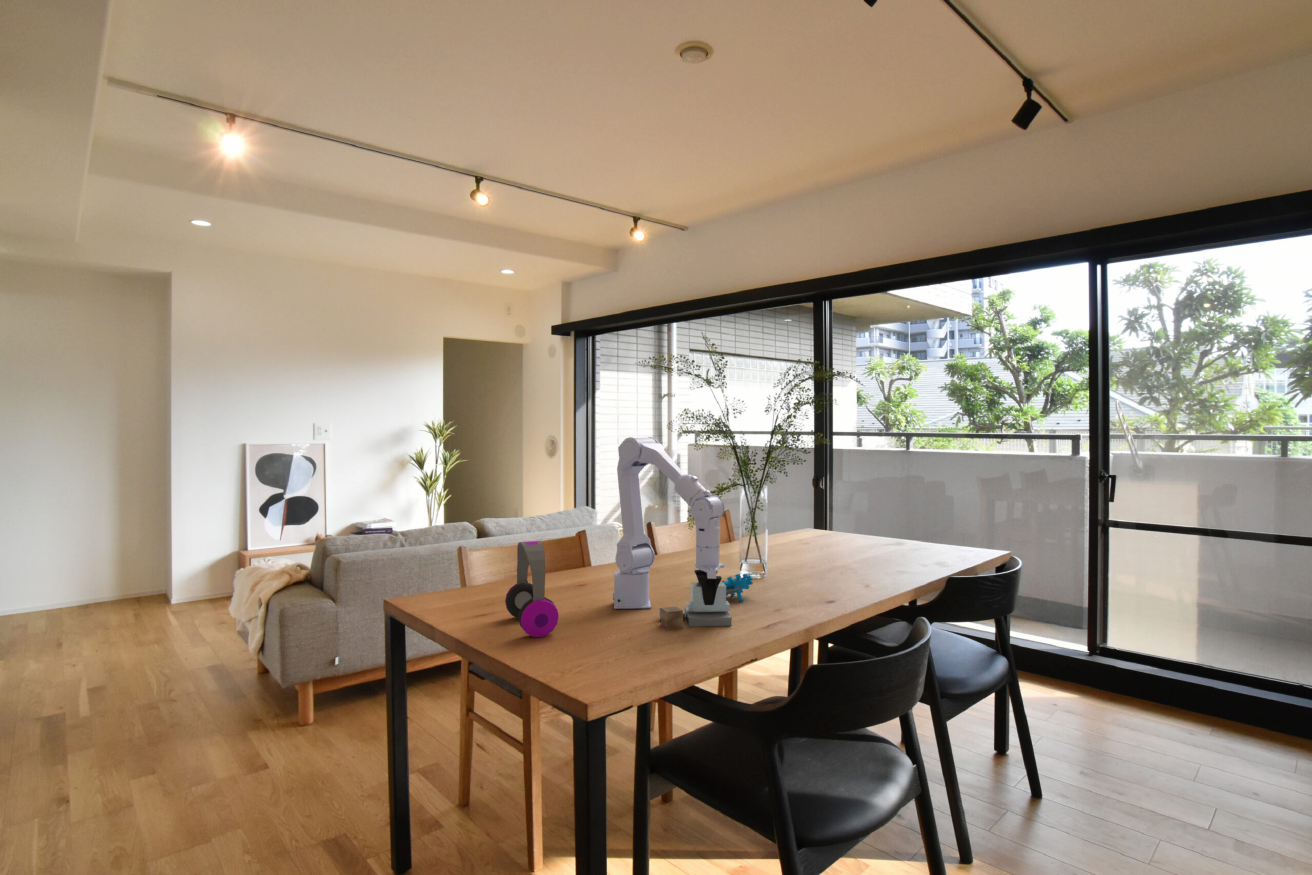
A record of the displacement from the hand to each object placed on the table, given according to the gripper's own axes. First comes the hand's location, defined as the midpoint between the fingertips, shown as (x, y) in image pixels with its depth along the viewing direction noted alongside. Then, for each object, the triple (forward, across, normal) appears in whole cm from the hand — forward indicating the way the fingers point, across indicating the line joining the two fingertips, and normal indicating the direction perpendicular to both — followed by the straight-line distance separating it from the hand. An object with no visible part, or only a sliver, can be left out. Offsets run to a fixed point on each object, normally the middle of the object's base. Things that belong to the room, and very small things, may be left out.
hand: (707, 602), depth 164 cm
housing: (+2, 0, 0) cm, 2 cm away
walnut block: (+4, -4, +9) cm, 11 cm away
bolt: (+4, +1, +8) cm, 9 cm away
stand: (+4, 0, 0) cm, 4 cm away
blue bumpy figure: (+5, +20, -10) cm, 23 cm away
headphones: (+5, -3, +42) cm, 42 cm away
